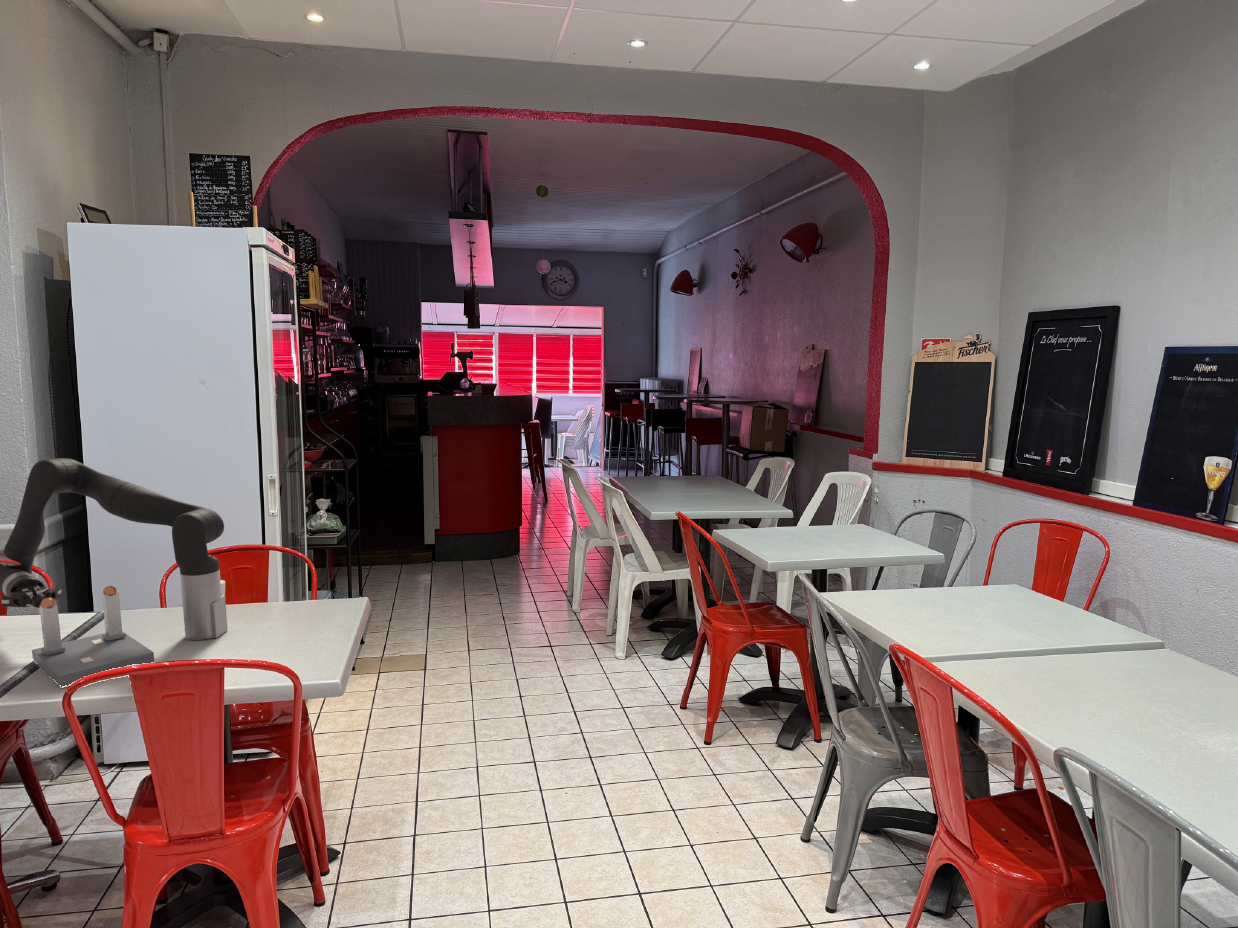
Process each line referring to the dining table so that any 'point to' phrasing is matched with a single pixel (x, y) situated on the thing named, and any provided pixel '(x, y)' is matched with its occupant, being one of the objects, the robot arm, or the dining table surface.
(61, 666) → the switch box
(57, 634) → the lever edge
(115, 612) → the lever inner
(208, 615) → the robot arm
